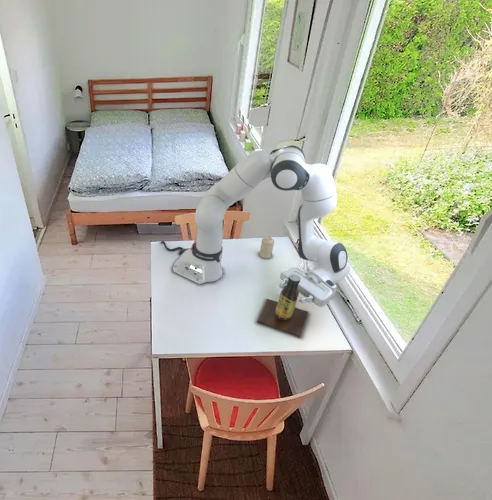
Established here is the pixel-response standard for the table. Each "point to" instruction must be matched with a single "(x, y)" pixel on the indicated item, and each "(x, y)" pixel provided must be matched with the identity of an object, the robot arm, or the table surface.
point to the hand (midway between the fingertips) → (290, 293)
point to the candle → (266, 247)
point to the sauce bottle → (288, 298)
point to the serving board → (287, 326)
